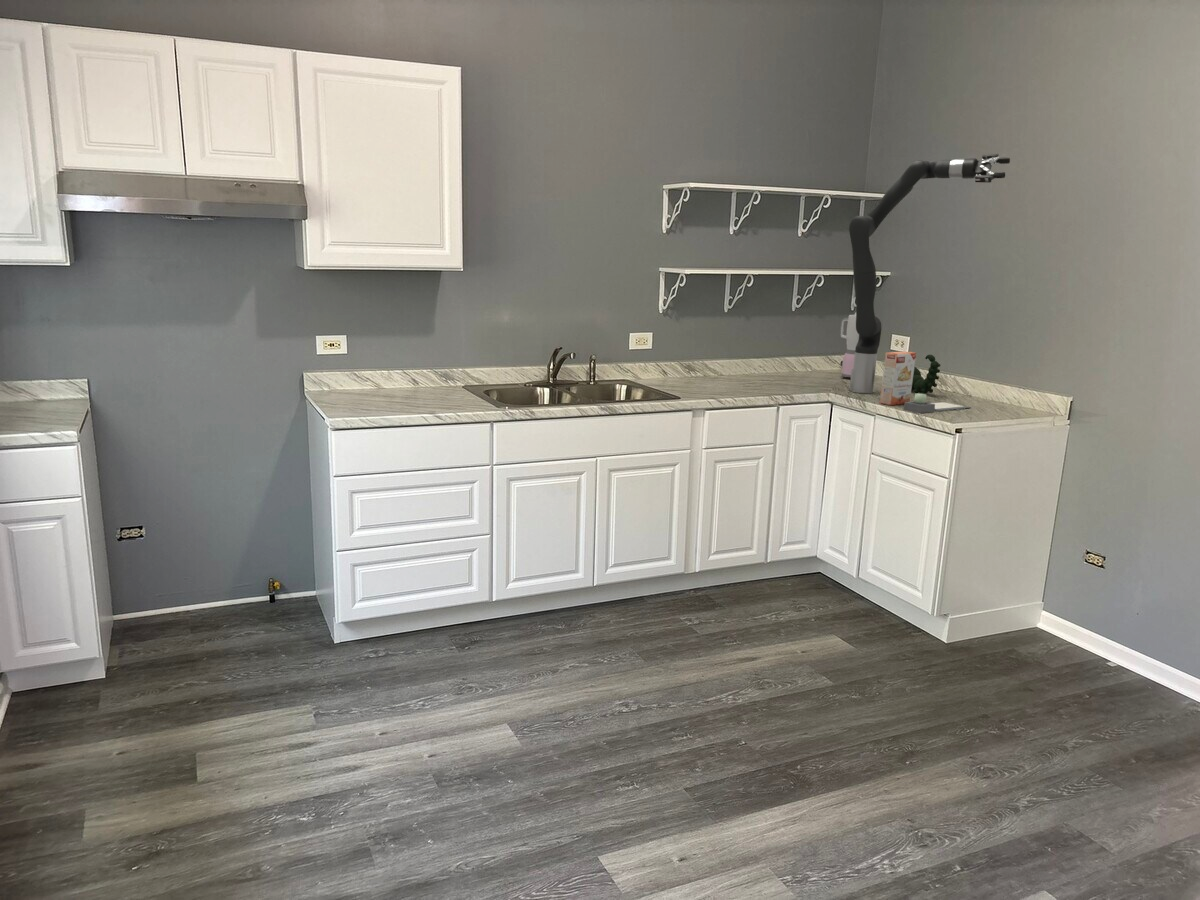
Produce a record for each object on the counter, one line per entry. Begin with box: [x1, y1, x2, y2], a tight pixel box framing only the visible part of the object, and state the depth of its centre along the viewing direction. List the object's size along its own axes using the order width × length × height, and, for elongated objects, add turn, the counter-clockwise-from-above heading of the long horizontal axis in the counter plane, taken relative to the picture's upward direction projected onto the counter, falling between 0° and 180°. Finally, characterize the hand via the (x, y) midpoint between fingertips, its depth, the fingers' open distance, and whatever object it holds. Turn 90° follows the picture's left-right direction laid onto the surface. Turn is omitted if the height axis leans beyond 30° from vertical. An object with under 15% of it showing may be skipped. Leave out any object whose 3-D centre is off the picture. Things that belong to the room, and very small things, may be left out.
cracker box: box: [879, 350, 917, 406], centre depth 350 cm, size 14×6×21 cm, turn 129°
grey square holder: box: [903, 400, 935, 414], centre depth 336 cm, size 8×8×3 cm
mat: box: [929, 401, 971, 412], centre depth 347 cm, size 14×20×1 cm
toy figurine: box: [911, 354, 941, 394], centre depth 384 cm, size 9×19×25 cm
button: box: [913, 392, 927, 405], centre depth 335 cm, size 4×4×4 cm
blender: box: [839, 311, 859, 379], centre depth 421 cm, size 16×12×32 cm
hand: (1007, 167), depth 333 cm, fingers open, 8 cm apart
